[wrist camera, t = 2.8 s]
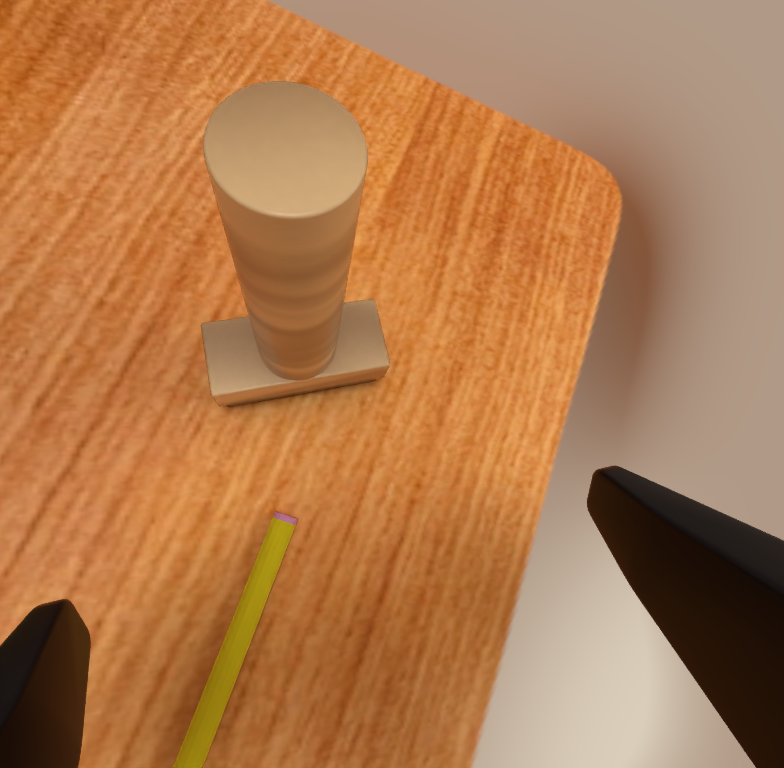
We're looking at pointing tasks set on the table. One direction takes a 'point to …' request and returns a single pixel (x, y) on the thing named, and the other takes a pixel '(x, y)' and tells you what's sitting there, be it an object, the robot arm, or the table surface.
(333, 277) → the wooden rubber stamp
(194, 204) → the table surface
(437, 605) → the table surface
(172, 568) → the table surface
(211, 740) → the pencil
